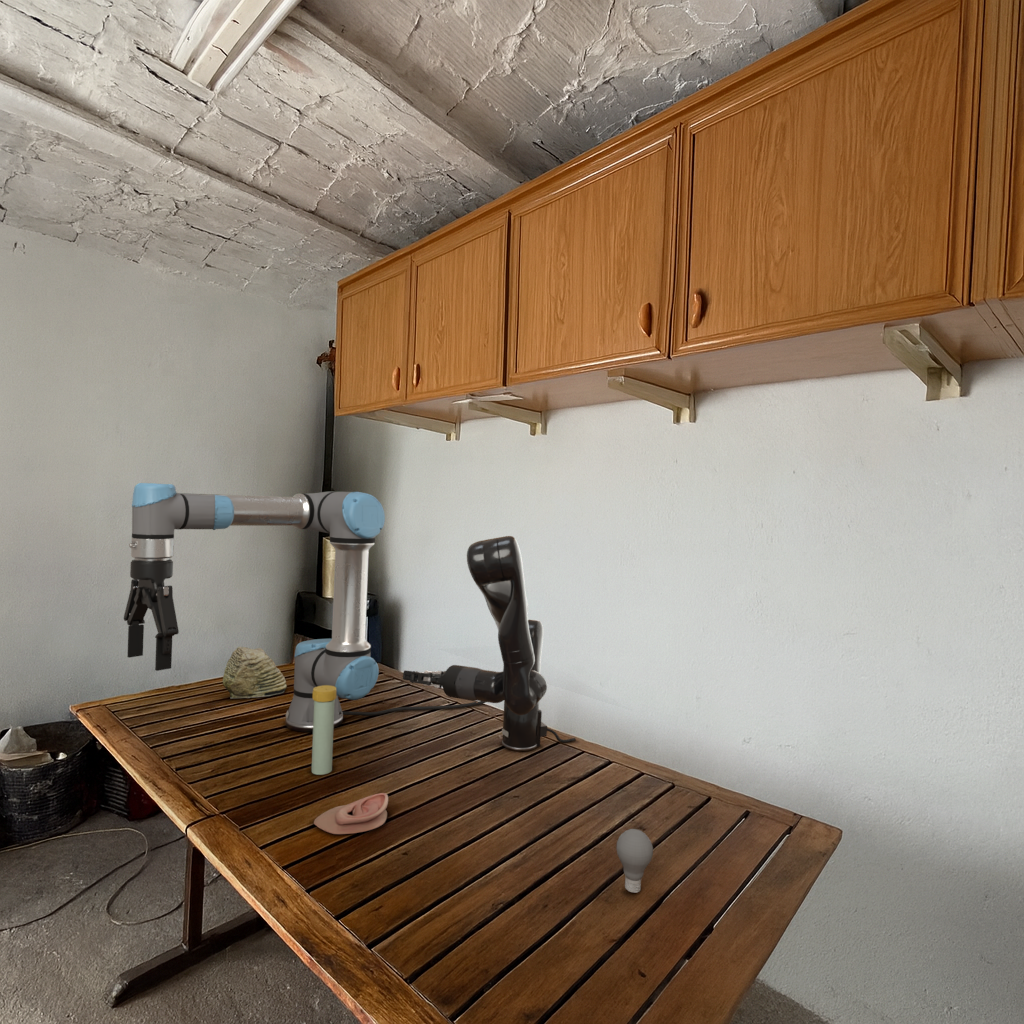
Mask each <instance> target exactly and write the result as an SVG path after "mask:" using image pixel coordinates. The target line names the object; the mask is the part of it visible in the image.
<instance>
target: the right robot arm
mask: <svg viewBox="0 0 1024 1024" xmlns="http://www.w3.org/2000/svg"><path fill="white" fill-rule="evenodd" d="M521 552H522V551H521V549H520V546H519V543H518V540H517V539H516V538H515V537H514V536H513V535H506V536H499V537H494V538H488V539H484V540H483V539H482V540H478V541H475V542H473V543H471V544H470V545H469V547H468V548H467V551H466V563H467V568H468V570H469V573H470V576H471V578H472V580H473V582H474V583H475V585H476V586H477V588H478V590H479V591H480V592H481V594H482V596H483V598H484V600H485V603H486V606H487V608H488V611H489V613H490V616H491V617H492V619H493V621H494V622H495V625H496V629H497V640H498V646H499V651H500V655H501V661H502V663H503V667H502V671H495V670H489V669H488V670H487V669H482V668H479V667H473V666H466V665H458V664H452V665H450V666H449V667H447V669H446V670H436V671H435V670H424V672H423V671H418V670H413V671H412V670H403V674H402V680H403V681H409V683H411V684H418V685H419V684H420V685H423V686H427V687H428V686H429V687H434V688H436V689H442V690H443V693H444V694H445V695H446V696H447V697H449V698H453V699H458V700H459V699H460V700H466V701H471V702H479V701H483V702H486V703H491V704H499V703H501V702H503V719H502V720H503V721H502V723H503V724H502V728H501V734H502V735H501V736H502V739H501V745H502V747H504V748H506V749H507V750H510V751H515V752H528V751H532V750H535V749H536V748H539V747H541V739H542V738H543V737H547V736H548V732H549V733H551V734H552V735H554V737H555V738H556V740H557V741H558V742H560V743H563V744H564V743H566V744H567V743H572V742H575V741H577V740H576V738H575V737H573V738H568V739H562V738H560V736H559V735H558V733H557V732H556V731H554V730H553V729H551V728H548V725H546V724H545V723H544V722H543V721H542V718H543V717H542V714H543V712H542V710H541V708H540V701H542V698H544V696H545V695H546V693H547V690H548V682H547V680H546V678H545V677H544V676H543V675H542V674H541V668H542V654H543V646H544V645H543V644H544V625H543V622H542V621H541V620H538V619H531V618H530V619H529V616H528V613H529V602H528V598H527V591H526V581H525V573H524V563H523V556H522V553H521Z"/></svg>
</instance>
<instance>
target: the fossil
mask: <svg viewBox="0 0 1024 1024" xmlns="http://www.w3.org/2000/svg"><path fill="white" fill-rule="evenodd" d="M222 676H223V677H222V685H223V687H224V688H225V690H226V691H228V693H229V698H230V699H250V698H264V697H271V696H275V695H281V694H284V693H285V691H286V689H287V687H288V686H287V680H286V678H285V676H284V674H283V673H282V672H281V669H279V668H278V667H277V665H276V663H275V662H274V660H273V659H272V658H271V657H270V656H269V655H268V654H267V653H266V652H265V650H264V649H263V648H260V647H258V648H251V647H247V646H246V647H245V646H238V647H237V648H236V649H235V650H233V651H232V653H231V656H230V657H229V659H228V660H227V663H226V666H225V668H224V671H223V675H222Z"/></svg>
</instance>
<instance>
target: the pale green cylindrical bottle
mask: <svg viewBox="0 0 1024 1024" xmlns="http://www.w3.org/2000/svg"><path fill="white" fill-rule="evenodd" d="M334 703H335V700H333V701H329V702H317V701H314V717H313V732H312V744H311V745H312V746H311V769H310V770H311V771H310V773H312V774H313V775H317V776H323V775H327V774H329V773H331V772H332V771H333V753H334V752H333V751H334V729H335V728H334Z"/></svg>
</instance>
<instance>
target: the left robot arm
mask: <svg viewBox="0 0 1024 1024" xmlns="http://www.w3.org/2000/svg"><path fill="white" fill-rule="evenodd" d="M385 515H386V513H385V511H384V508H383V505H382V503H381V502H380V501H379V500H378V498H377V497H375V495H373V494H370V493H367V492H363V491H362V492H361V491H337V490H336V491H335V490H333V491H332V490H330V491H321V492H311V493H295V494H294V495H293V496H276V495H275V496H274V495H273V496H272V495H248V494H247V495H246V494H244V495H243V494H220V493H219V494H218V493H217V494H216V493H215V494H214V493H189V492H187V493H186V492H177V491H176V486H175V485H174V484H173V483H152V482H139V483H137V484H136V485H135V486H134V488H133V492H132V501H131V520H132V521H131V542H130V543H128V547H129V548H130V549H131V550H130V556H131V558H133V559H132V560H131V561H130V567H129V568H130V571H129V574H130V575H129V576H130V578H131V581H130V590H129V594H128V598H127V603H126V607H125V610H124V615H123V621H124V622H126V624H127V626H128V629H127V630H128V631H127V658H135V657H142V656H144V635H145V634H144V630H145V625H144V624H145V623H146V621H145V619H144V618H145V616H146V615H147V612H148V609H149V610H151V613H152V618H153V620H154V624H155V627H156V631H157V633H156V635H155V636H154V638H155V661H154V663H155V665H154V668H155V669H154V670H155V671H157V672H159V671H164V670H169V669H172V659H173V657H172V655H173V637H175V636H176V635H179V632H180V631H179V625H178V619H177V615H176V614H177V613H176V609H175V603H174V597H173V595H174V593H173V585H165V580H167V579H171V578H172V577H173V575H174V573H173V572H174V561H173V560H172V559H171V558H173V557H174V554H175V553H174V552H175V530H213V531H215V530H224V529H228V528H230V526H233V527H234V526H237V527H238V526H240V527H243V526H246V527H247V526H249V527H250V526H258V527H259V526H268V527H269V526H276V527H277V526H282V527H284V526H285V527H286V526H287V527H288V526H289V527H290V526H291V527H293V528H294V529H296V530H308V531H309V530H310V531H316V532H319V533H325V534H329V544H330V545H331V546H332V547H333V548H334V550H335V551H334V572H333V573H334V577H333V599H332V625H331V626H332V627H331V638H317V639H308V640H304V641H300V642H299V643H297V645H296V646H295V650H294V655H293V657H294V672H293V673H294V674H293V695H292V696H293V697H292V699H291V702H290V704H289V708H288V709H287V710H286V712H285V726H286V728H287V729H289V730H291V731H294V732H295V731H296V732H301V733H313V717H314V700H313V689H314V688H315V687H317V686H323V685H329V686H334V687H336V690H337V694H336V699H335V703H334V729H335V728H337V727H339V726H340V725H342V723H343V722H344V716H364V717H372V716H374V717H375V716H380V715H386V714H389V713H394V712H403V711H429V710H431V711H432V710H450V709H451V710H453V709H461V708H468V707H474V706H480V705H483V704H486V703H487V702H483V701H472V702H468V703H460V704H452V705H451V704H450V705H430V706H429V705H427V706H402V707H392V708H388V709H383V710H379V711H371V712H370V711H343V709H342V706H341V702H340V699H339V698H341V699H342V700H343V699H344V700H348V701H349V700H350V701H357V700H360V699H362V698H364V697H365V696H367V695H368V694H370V692H371V690H372V689H374V687H375V685H376V683H377V682H378V678H379V674H380V672H379V671H380V670H379V669H380V668H379V665H378V663H377V662H376V660H375V659H374V657H371V652H372V649H371V648H372V644H371V643H370V642H368V640H367V639H366V631H367V607H368V606H367V605H368V604H367V602H368V582H369V581H368V579H369V555H370V553H369V552H370V550H371V548H372V547H374V545H375V544H376V536H378V535H379V534H380V533H381V530H383V528H384V526H385V522H386V521H385V520H386V516H385ZM476 702H478V703H476Z"/></svg>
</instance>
